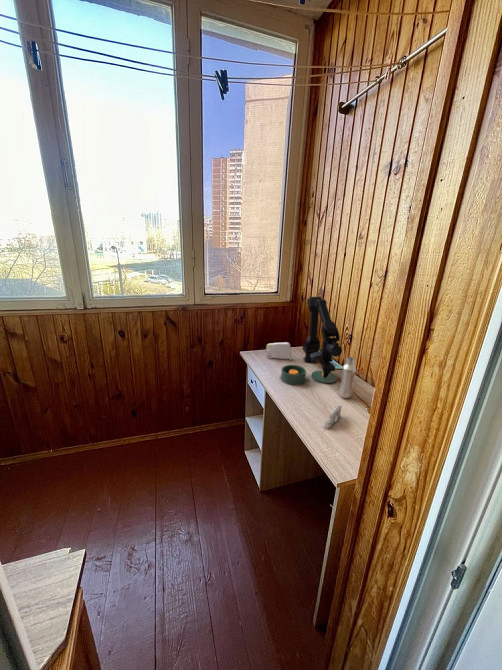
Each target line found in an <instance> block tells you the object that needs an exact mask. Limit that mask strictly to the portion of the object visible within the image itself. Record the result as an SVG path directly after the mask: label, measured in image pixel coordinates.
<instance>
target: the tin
mask: <svg viewBox="0 0 502 670" xmlns="http://www.w3.org/2000/svg"><path fill="white" fill-rule="evenodd" d="M289 370H297V371H298V375H291V374H289ZM280 373H281V374H280V379H281V381H282V382H283V383H284V384H287V385H292V386H298V385H302V384H304V383H305V381H306V376H307V371H306V369H305V368H304V367H303V366H301V365H297V364H286V365H283V367H281V372H280Z"/></svg>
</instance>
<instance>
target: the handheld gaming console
mask: <svg viewBox="0 0 502 670" xmlns="http://www.w3.org/2000/svg"><path fill="white" fill-rule="evenodd" d="M265 347H266V348H265V353H266V357H267V358H268V359H289V361H291V362H292V350H291V349H292V348H291V347H292V346H291V344H290V342H287V341H285V342H272V343H271V342H270V343H267V344H266V346H265Z"/></svg>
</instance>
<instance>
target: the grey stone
mask: <svg viewBox="0 0 502 670" xmlns="http://www.w3.org/2000/svg"><path fill="white" fill-rule="evenodd" d="M341 411H342V405H341V404H338V405H337V406H336V407H334V408H333V409H332V410H331V412H330V413H329V414H328V416H329V418H328V419H327V420H326V421H325V429H328V430H329V429H330V428H331V426H332V425H334V423H336V422H337V421H338V419H339V418H340V417H341Z"/></svg>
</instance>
